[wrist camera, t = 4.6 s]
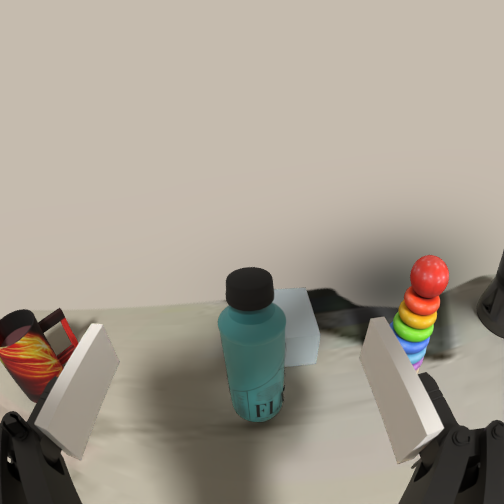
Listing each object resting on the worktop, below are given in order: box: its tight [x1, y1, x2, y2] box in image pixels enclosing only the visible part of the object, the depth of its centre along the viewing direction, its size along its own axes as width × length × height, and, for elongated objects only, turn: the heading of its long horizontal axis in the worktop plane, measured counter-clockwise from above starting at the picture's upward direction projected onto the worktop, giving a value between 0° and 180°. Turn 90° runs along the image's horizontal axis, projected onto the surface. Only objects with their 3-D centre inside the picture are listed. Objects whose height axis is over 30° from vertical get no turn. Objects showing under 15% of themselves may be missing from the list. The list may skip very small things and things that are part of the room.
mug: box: [0, 308, 79, 403], centre depth 30 cm, size 10×14×12 cm
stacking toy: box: [390, 255, 449, 374], centre depth 30 cm, size 8×8×19 cm
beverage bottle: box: [218, 267, 287, 422], centre depth 26 cm, size 6×7×20 cm
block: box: [273, 288, 320, 367], centre depth 41 cm, size 12×12×6 cm
